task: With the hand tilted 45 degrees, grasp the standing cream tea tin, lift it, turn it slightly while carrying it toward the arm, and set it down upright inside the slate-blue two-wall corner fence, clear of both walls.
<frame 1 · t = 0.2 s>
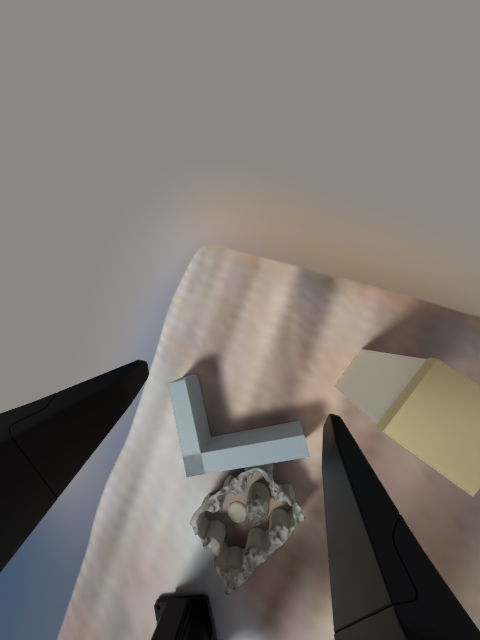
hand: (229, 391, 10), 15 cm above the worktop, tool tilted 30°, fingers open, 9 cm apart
egg carton: (247, 498, 24), on the worktop
corner fence: (244, 380, 25), on the worktop
tea tin: (368, 382, 22), on the worktop
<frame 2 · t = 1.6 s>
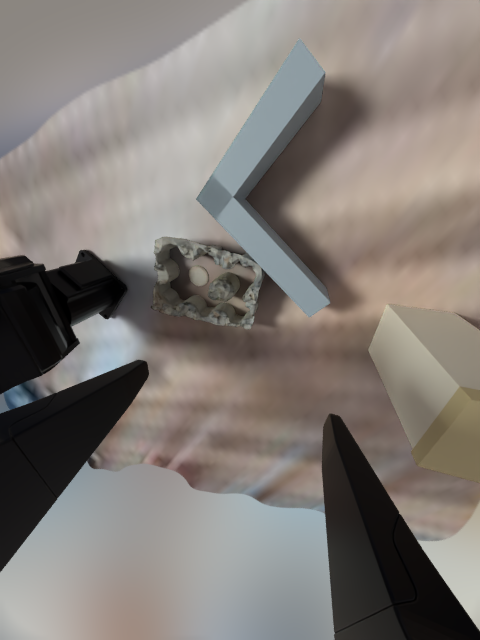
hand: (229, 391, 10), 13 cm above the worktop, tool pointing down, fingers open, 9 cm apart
egg carton: (215, 276, 22), on the worktop
corner fence: (346, 192, 16), on the worktop
tea tin: (407, 333, 19), on the worktop
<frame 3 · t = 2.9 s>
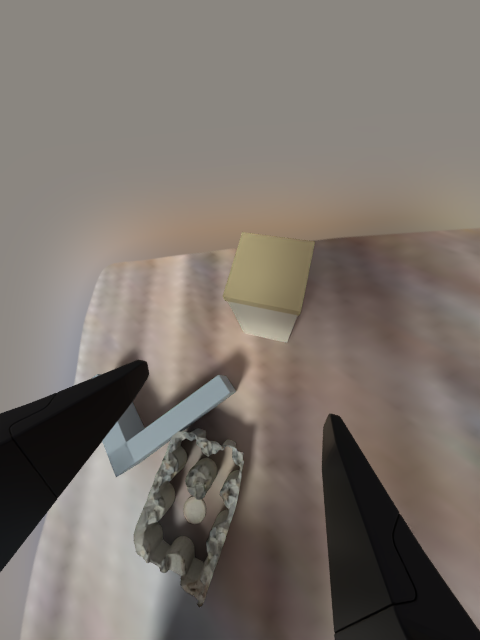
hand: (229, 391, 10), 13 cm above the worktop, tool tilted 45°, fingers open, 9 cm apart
egg carton: (200, 487, 21), on the worktop
corner fence: (166, 362, 25), on the worktop
tea tin: (269, 317, 25), on the worktop
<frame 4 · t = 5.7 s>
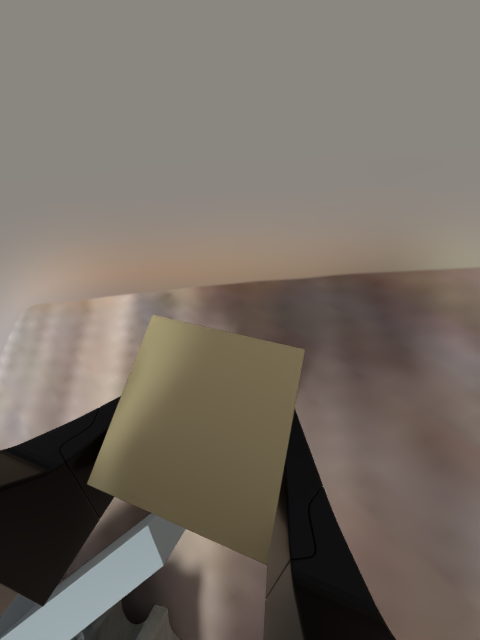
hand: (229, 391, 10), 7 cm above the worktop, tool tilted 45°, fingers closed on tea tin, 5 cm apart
corner fence: (89, 464, 17), on the worktop
tea tin: (244, 397, 16), on the worktop, touching gripper
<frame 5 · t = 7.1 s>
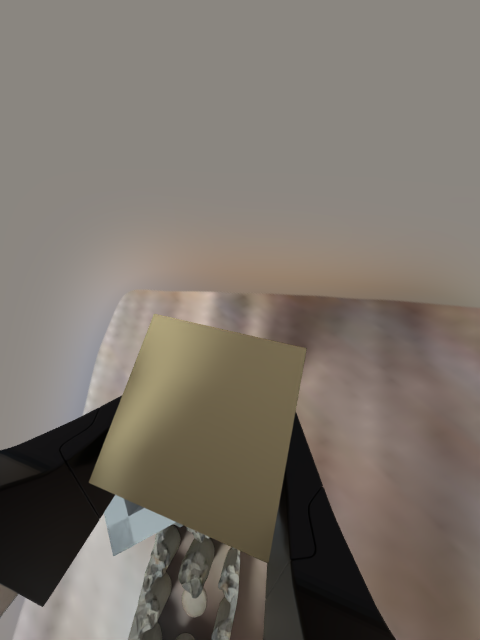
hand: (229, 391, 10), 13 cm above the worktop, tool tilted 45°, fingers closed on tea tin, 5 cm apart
egg carton: (198, 569, 19), on the worktop
corner fence: (179, 415, 23), on the worktop
tea tin: (244, 396, 17), point 6 cm above the worktop, touching gripper
when the fingers open (8 cm above the worktop, at t = 8.9 s): tea tin drops 1 cm, on the worktop.
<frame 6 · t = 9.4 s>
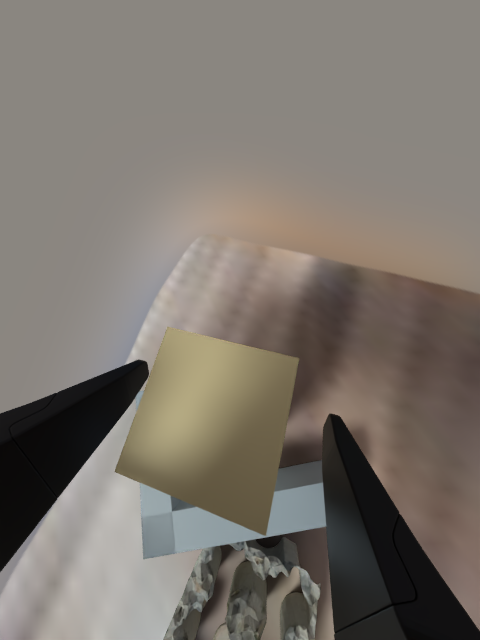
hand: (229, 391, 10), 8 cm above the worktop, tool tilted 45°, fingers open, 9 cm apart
egg carton: (238, 605, 14), on the worktop
corner fence: (245, 396, 18), on the worktop
tea tin: (245, 397, 18), on the worktop
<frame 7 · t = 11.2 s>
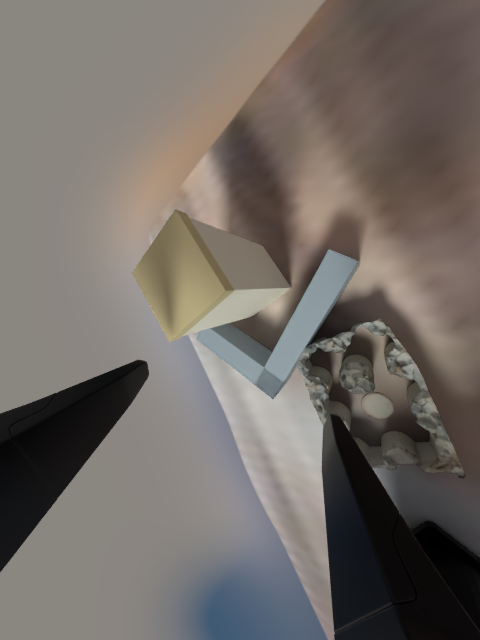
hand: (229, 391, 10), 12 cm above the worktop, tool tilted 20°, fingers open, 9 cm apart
egg carton: (364, 384, 18), on the worktop
corner fence: (256, 281, 21), on the worktop
tea tin: (257, 282, 21), on the worktop
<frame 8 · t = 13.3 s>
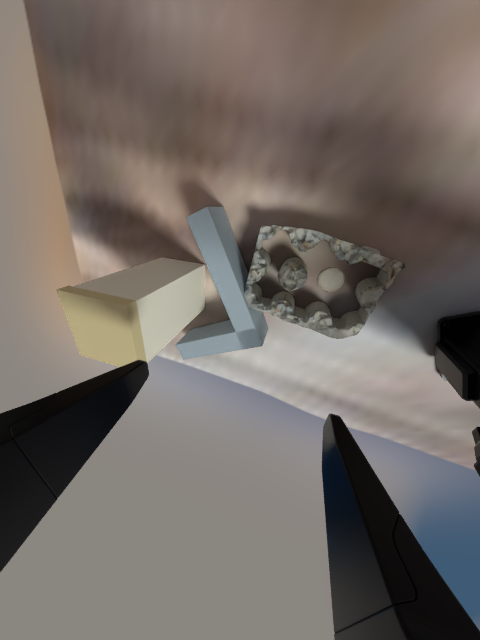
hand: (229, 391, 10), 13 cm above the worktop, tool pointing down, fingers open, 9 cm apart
egg carton: (311, 275, 20), on the worktop
corner fence: (182, 283, 23), on the worktop
tea tin: (184, 283, 23), on the worktop
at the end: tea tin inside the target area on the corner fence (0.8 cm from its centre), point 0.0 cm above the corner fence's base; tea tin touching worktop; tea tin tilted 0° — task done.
